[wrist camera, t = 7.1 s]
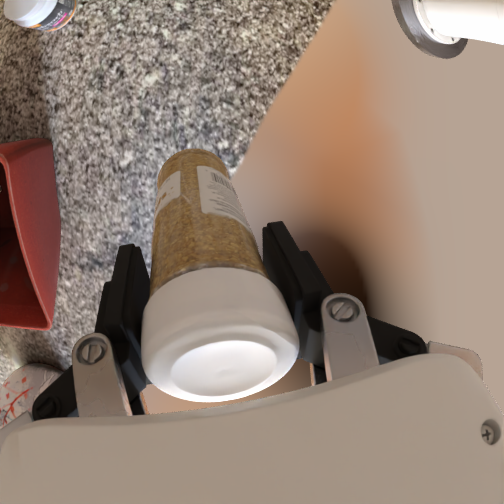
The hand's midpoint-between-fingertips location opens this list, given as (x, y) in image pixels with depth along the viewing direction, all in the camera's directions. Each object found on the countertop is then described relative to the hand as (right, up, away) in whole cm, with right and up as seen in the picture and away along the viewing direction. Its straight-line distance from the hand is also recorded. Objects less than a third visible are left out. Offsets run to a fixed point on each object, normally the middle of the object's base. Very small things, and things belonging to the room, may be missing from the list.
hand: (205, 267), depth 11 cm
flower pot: (-30, +10, +20) cm, 37 cm away
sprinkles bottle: (-2, +5, +7) cm, 9 cm away
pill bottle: (-21, +29, +8) cm, 37 cm away
